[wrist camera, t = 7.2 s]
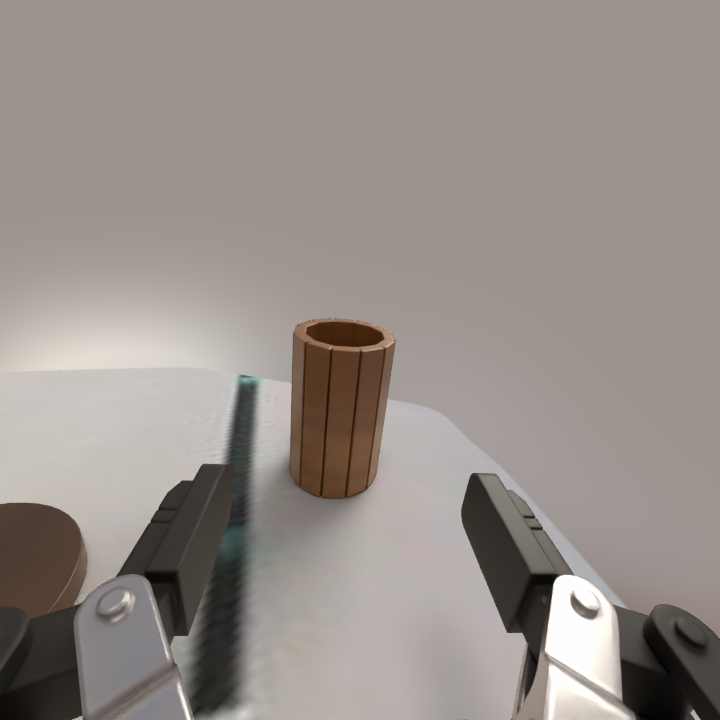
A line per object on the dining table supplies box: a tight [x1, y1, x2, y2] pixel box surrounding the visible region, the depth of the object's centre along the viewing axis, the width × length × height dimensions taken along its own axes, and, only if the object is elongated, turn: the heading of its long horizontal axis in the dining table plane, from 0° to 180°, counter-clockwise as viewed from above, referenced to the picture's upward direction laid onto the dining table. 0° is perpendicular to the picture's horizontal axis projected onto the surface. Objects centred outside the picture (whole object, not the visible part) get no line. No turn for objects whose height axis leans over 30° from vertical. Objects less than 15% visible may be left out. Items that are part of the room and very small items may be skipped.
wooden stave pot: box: [290, 318, 396, 498], centre depth 22 cm, size 6×6×10 cm
